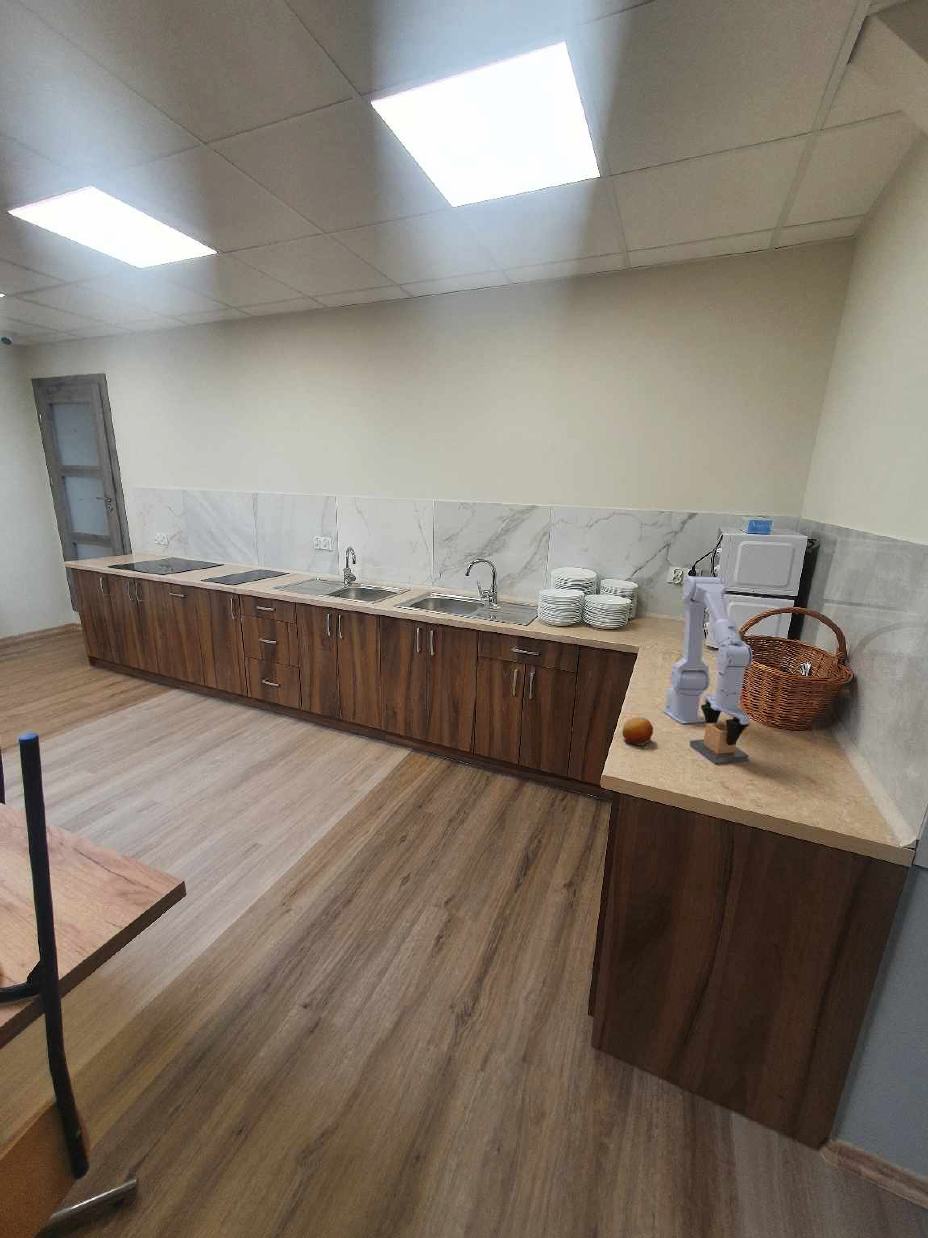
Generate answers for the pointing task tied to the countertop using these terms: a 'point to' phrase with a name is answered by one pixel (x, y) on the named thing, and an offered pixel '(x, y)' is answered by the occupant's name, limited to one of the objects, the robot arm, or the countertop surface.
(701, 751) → the post base
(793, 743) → the countertop surface
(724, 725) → the collar
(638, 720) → the fruit
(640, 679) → the countertop surface
